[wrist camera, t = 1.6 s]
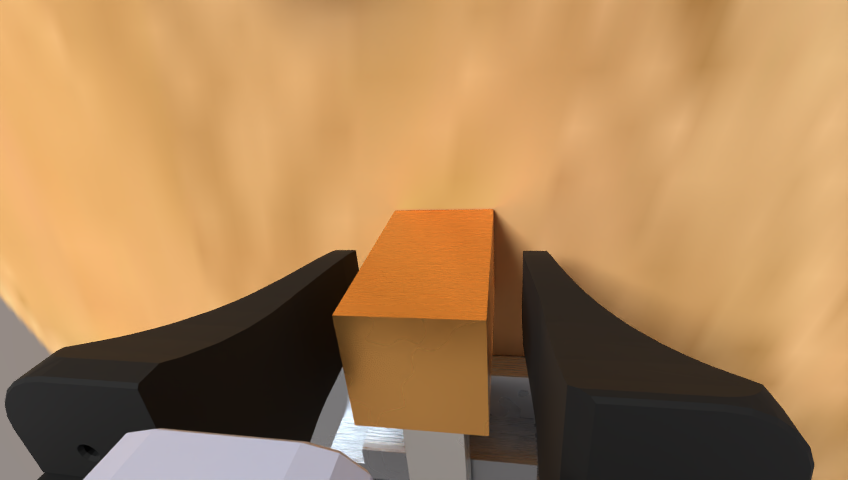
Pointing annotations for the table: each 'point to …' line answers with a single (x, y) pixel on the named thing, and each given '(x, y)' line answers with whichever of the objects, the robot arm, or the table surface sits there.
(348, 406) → the dock
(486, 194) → the table surface
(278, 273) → the table surface
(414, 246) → the pin
